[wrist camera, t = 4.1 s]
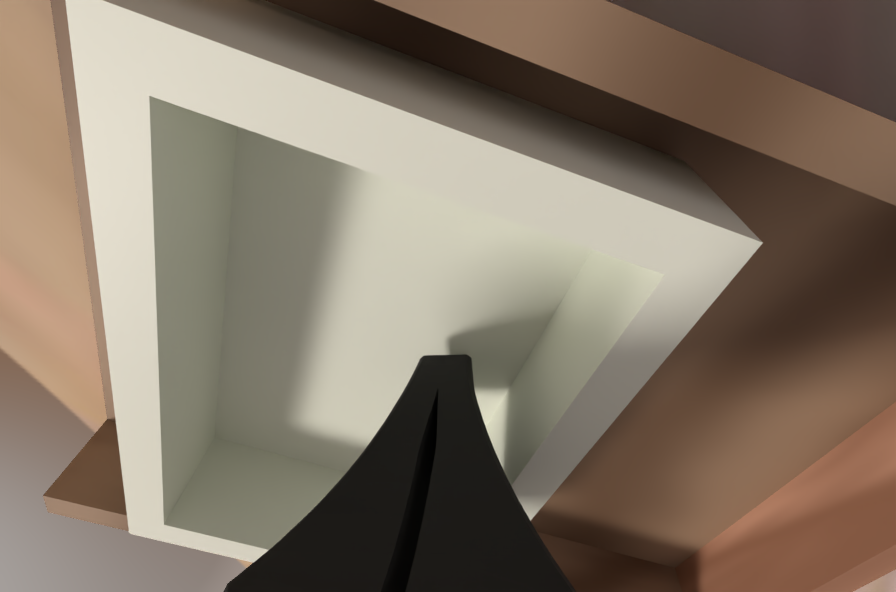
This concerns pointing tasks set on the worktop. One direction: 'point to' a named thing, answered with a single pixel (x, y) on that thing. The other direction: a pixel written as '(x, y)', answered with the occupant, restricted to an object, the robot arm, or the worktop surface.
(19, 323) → the worktop surface
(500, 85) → the bay
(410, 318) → the crate
